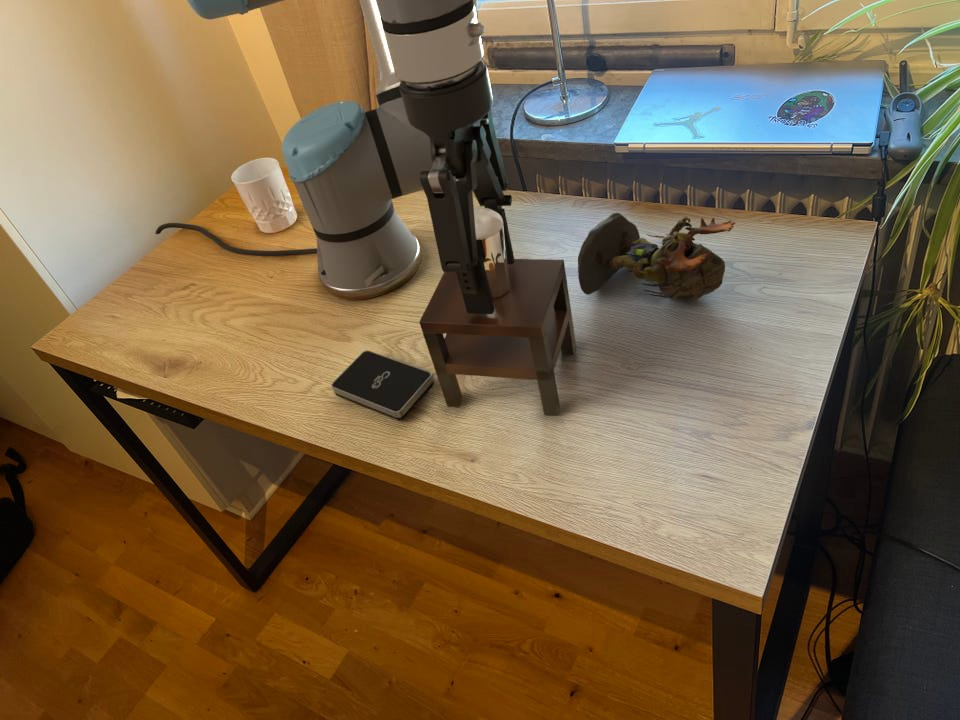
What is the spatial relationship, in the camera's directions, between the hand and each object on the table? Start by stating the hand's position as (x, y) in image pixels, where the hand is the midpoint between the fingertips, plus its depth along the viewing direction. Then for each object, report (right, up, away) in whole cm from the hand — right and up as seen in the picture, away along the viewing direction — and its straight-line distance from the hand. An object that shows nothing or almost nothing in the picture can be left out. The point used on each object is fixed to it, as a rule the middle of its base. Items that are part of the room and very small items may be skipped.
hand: (491, 285), depth 74 cm
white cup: (-35, +15, +47) cm, 61 cm away
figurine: (+21, +1, +16) cm, 26 cm away
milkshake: (0, -1, +1) cm, 1 cm away
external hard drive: (-13, -12, +12) cm, 21 cm away
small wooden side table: (+3, -10, +9) cm, 14 cm away
